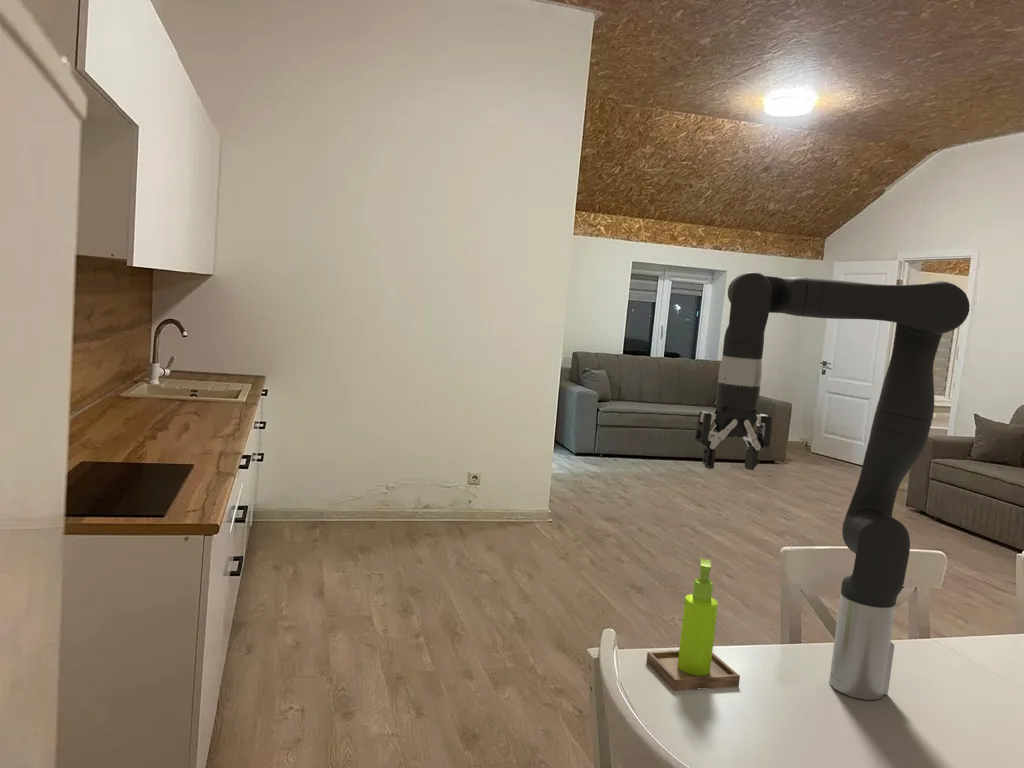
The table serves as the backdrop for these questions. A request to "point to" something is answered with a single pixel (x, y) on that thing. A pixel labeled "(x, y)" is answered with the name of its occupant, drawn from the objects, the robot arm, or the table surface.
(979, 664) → the table surface
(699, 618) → the soap dispenser
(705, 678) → the soap tray
